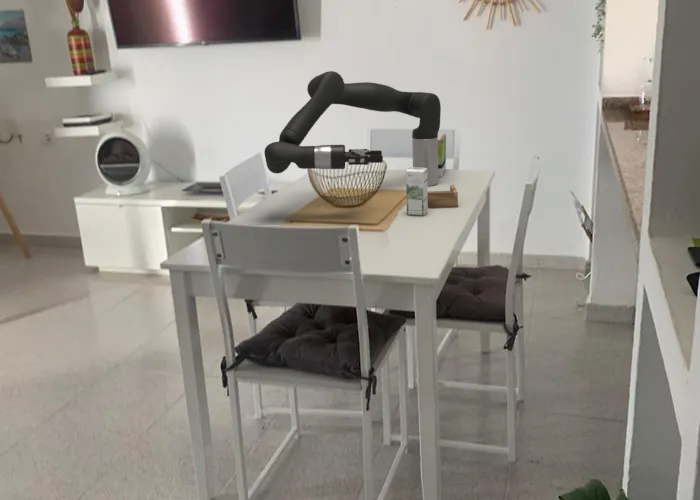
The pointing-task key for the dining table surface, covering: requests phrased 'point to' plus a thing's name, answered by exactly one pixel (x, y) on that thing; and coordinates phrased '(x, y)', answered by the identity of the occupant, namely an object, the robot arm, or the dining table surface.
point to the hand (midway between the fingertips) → (382, 156)
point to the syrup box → (416, 191)
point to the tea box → (441, 154)
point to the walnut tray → (443, 198)
